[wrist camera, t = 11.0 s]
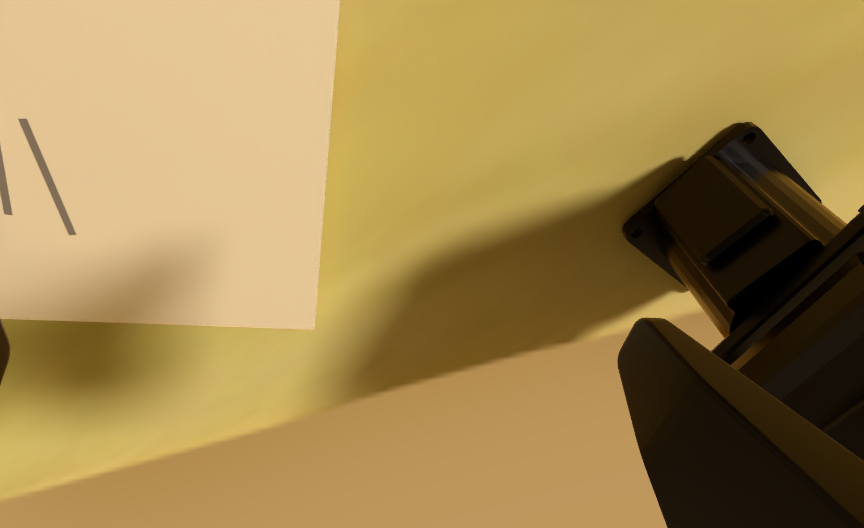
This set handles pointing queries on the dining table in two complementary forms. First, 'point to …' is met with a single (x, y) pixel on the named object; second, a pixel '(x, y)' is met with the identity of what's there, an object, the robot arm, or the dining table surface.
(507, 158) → the dining table surface
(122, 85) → the board
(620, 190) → the dining table surface
